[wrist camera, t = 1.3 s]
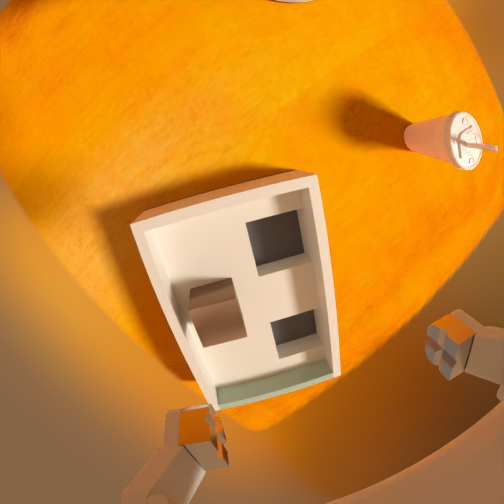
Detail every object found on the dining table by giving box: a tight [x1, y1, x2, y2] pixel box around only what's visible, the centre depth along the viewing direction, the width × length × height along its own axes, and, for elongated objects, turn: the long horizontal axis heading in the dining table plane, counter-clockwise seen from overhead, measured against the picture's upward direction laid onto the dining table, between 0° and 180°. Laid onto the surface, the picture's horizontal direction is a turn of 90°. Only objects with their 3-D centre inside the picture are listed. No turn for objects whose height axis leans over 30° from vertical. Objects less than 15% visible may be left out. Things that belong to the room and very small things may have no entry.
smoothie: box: [404, 111, 498, 170], centre depth 24 cm, size 6×6×14 cm
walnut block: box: [188, 278, 247, 348], centre depth 28 cm, size 4×4×4 cm
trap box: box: [130, 170, 341, 411], centre depth 31 cm, size 25×17×6 cm
